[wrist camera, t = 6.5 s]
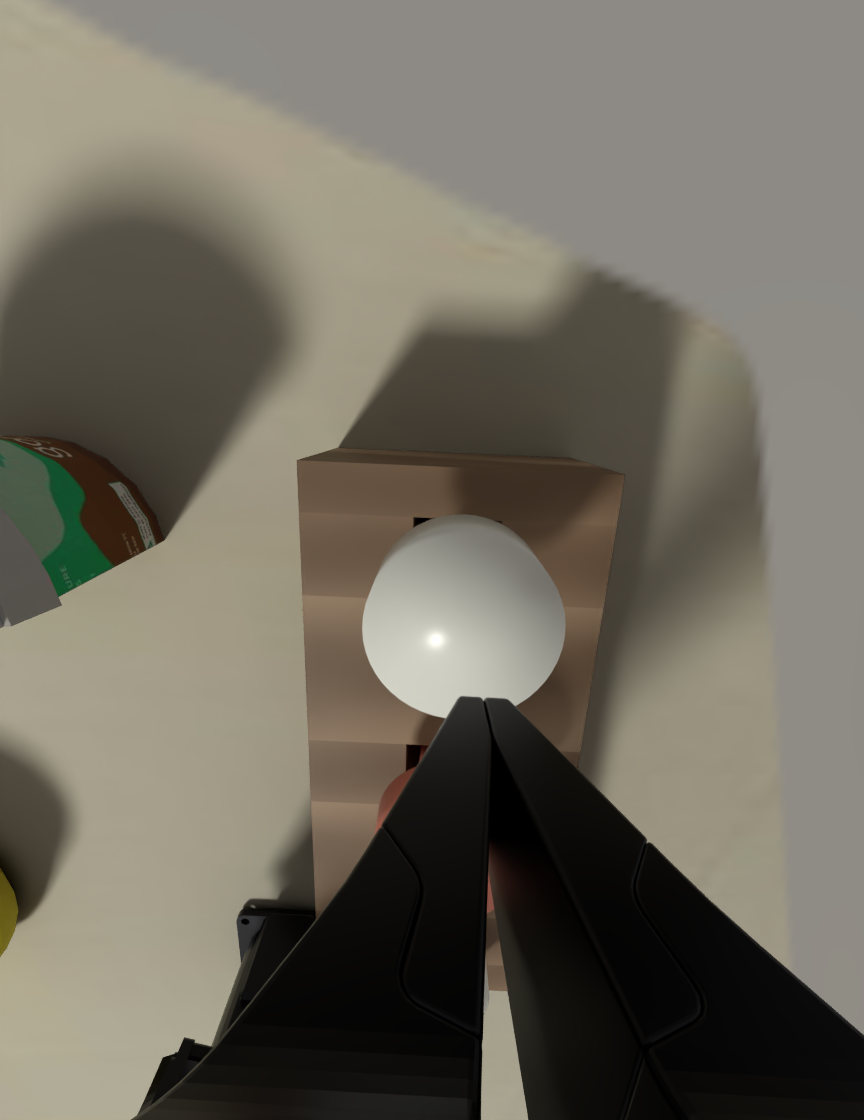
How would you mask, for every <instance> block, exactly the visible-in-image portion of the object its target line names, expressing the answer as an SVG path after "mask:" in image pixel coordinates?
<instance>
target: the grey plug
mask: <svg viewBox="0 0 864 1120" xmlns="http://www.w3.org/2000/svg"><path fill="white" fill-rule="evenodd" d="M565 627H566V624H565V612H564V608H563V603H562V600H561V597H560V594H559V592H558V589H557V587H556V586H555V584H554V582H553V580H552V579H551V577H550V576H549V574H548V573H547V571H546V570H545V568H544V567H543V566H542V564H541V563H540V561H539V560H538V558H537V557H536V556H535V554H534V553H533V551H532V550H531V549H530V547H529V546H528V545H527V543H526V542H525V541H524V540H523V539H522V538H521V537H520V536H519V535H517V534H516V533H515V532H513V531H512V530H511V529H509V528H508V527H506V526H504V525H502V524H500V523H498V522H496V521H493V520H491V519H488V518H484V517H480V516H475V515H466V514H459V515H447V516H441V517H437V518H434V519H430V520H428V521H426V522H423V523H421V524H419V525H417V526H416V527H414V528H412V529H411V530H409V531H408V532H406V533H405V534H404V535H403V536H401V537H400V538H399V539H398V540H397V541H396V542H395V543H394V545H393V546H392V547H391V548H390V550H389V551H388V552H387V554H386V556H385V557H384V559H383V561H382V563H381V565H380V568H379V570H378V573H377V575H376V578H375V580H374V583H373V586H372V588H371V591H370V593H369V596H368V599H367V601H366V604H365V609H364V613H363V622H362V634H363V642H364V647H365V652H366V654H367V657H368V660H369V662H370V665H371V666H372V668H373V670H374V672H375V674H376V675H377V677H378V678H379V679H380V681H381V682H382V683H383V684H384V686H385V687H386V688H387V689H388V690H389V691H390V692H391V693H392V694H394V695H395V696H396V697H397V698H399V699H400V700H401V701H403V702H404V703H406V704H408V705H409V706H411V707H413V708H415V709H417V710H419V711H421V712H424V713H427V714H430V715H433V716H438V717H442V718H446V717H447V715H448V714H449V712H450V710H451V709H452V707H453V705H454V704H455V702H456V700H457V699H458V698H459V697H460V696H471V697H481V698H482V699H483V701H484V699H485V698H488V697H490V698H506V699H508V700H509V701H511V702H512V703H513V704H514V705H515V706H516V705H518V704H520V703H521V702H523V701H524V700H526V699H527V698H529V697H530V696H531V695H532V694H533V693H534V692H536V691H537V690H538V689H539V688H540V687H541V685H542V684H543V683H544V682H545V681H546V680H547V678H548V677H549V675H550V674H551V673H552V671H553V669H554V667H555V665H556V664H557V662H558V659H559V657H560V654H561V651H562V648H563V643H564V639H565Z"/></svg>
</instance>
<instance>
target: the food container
mask: <svg viewBox="0 0 864 1120" xmlns="http://www.w3.org/2000/svg"><path fill="white" fill-rule="evenodd" d="M162 541H164V538H163V535H162V532H161V529H160V526H159V523H158V521H157V518H156V515H155V514H154V512H153V511H152V509H151V508H150V506H149V505H148V503H147V502H146V500H145V499H144V497H143V496H142V494H141V493H140V491H139V490H138V488H137V486H136V485H135V484H134V483H133V482H132V481H131V480H129V479H128V478H127V477H126V476H125V475H124V474H123V473H122V472H121V471H119V470H118V469H117V468H116V467H115V466H114V465H113V464H112V463H110V462H109V461H108V460H107V459H105V458H103V457H101V456H99V455H97V454H95V453H93V452H91V451H89V450H87V449H85V448H83V447H81V446H79V445H77V444H75V443H73V442H68V441H63V440H58V439H53V438H48V437H29V436H2V435H0V628H1V627H4V626H13V625H15V624H18V623H20V622H22V621H25V620H27V619H30V618H32V617H35V616H37V615H39V614H42V613H44V612H47V611H49V610H52V609H54V608H56V607H59V606H61V602H60V600H59V598H58V597H59V596H61V595H63V594H65V593H67V592H69V591H70V590H72V589H74V588H76V587H78V586H80V585H82V584H84V583H85V582H87V581H89V580H91V579H93V578H95V577H97V576H99V575H100V574H102V573H104V572H106V571H108V570H110V569H112V568H114V567H115V566H117V565H119V564H121V563H123V562H125V561H127V560H129V559H130V558H132V557H134V556H136V555H138V554H140V553H142V552H144V551H146V550H147V549H149V548H151V547H153V546H155V545H157V544H159V543H161V542H162Z"/></svg>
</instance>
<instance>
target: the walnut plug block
mask: <svg viewBox="0 0 864 1120" xmlns="http://www.w3.org/2000/svg"><path fill="white" fill-rule="evenodd" d="M297 477H298V501H299V525H300V549H301V573H302V597H303V621H304V645H305V669H306V693H307V717H308V741H309V765H310V789H311V813H312V837H313V861H314V885H315V909H316V919H317V918H318V917H319V915H320V914H321V913H322V911H323V910H324V909H325V907H326V906H327V905H328V903H329V902H330V901H331V899H332V898H333V897H334V895H335V894H336V893H337V891H338V890H339V889H340V887H341V886H342V885H343V883H344V882H345V881H346V879H347V877H348V876H349V874H350V873H351V871H352V870H353V868H354V867H355V865H356V864H357V862H358V861H359V859H360V858H361V856H362V855H363V853H364V852H365V850H366V849H367V847H368V845H369V844H370V842H371V840H372V839H373V837H374V835H375V828H376V822H377V815H378V809H379V804H380V800H381V798H382V795H383V793H384V792H385V790H386V788H387V787H388V786H389V785H390V784H391V782H392V781H393V780H395V779H396V778H397V777H398V776H399V775H401V774H402V773H404V772H406V771H408V770H410V769H412V768H414V767H417V765H418V763H419V760H420V745H430V743H431V742H432V740H433V738H434V737H435V735H436V734H437V732H438V730H439V729H440V727H441V725H442V724H443V722H444V720H445V719H446V718H442V717H438V716H433V715H430V714H427V713H424V712H421V711H419V710H417V709H415V708H413V707H411V706H409V705H408V704H406V703H404V702H403V701H401V700H400V699H399V698H397V697H396V696H395V695H394V694H392V693H391V692H390V691H389V690H388V689H387V688H386V687H385V686H384V684H383V683H382V682H381V681H380V679H379V678H378V677H377V675H376V674H375V672H374V670H373V668H372V666H371V665H370V662H369V660H368V657H367V654H366V652H365V647H364V642H363V634H362V622H363V613H364V609H365V604H366V601H367V599H368V596H369V593H370V591H371V588H372V586H373V583H374V580H375V578H376V575H377V573H378V570H379V568H380V565H381V563H382V561H383V559H384V557H385V556H386V554H387V552H388V551H389V550H390V548H391V547H392V546H393V545H394V543H395V542H396V541H397V540H398V539H399V538H400V537H401V536H403V535H404V534H405V533H406V532H408V531H409V530H411V529H412V528H414V527H416V526H417V525H419V517H420V518H437V517H441V516H447V515H459V514H466V515H475V516H480V517H484V518H488V519H491V520H493V521H496V522H498V523H500V524H502V525H504V526H506V527H508V528H509V529H511V530H512V531H513V532H515V533H516V534H517V535H519V536H520V537H521V538H522V539H523V540H524V541H525V542H526V543H527V545H528V546H529V547H530V549H531V550H532V551H533V553H534V554H535V556H536V557H537V558H538V560H539V561H540V563H541V564H542V566H543V567H544V568H545V570H546V571H547V573H548V574H549V576H550V577H551V579H552V580H553V582H554V584H555V586H556V587H557V589H558V592H559V594H560V597H561V600H562V603H563V608H564V612H565V624H566V627H565V639H564V643H563V648H562V651H561V654H560V657H559V659H558V662H557V664H556V665H555V667H554V669H553V671H552V673H551V674H550V675H549V677H548V678H547V680H546V681H545V682H544V683H543V684H542V685H541V687H540V688H539V689H538V690H537V691H536V692H534V693H533V694H532V695H531V696H530V697H529V698H527V699H526V700H524V701H523V702H521V703H520V704H518V705H516V707H517V708H518V709H519V710H520V711H521V712H522V713H523V714H524V715H525V716H526V717H527V719H528V720H529V721H530V722H531V723H532V724H533V725H534V726H535V727H536V728H537V729H538V730H539V731H540V732H541V733H542V734H543V735H544V736H545V737H546V738H547V739H548V740H549V741H550V742H551V743H552V744H553V745H554V746H555V747H556V748H557V749H558V750H559V751H560V752H561V753H562V754H563V755H564V756H565V757H566V758H567V759H568V760H569V761H570V762H571V763H572V764H573V765H574V766H575V767H576V768H577V769H578V763H579V757H580V751H581V745H582V739H583V733H584V726H585V720H586V714H587V708H588V702H589V695H590V689H591V683H592V677H593V671H594V664H595V658H596V652H597V646H598V640H599V633H600V627H601V621H602V615H603V609H604V602H605V596H606V590H607V584H608V578H609V571H610V565H611V559H612V553H613V547H614V540H615V534H616V528H617V522H618V516H619V509H620V503H621V497H622V491H623V485H624V479H625V475H624V474H621V473H618V472H614V471H611V470H608V469H605V468H601V467H598V466H595V465H592V464H589V463H585V462H582V461H579V460H576V459H572V458H555V457H533V456H510V455H487V454H465V453H442V452H419V451H397V450H374V449H351V448H336V449H332V450H329V451H326V452H322V453H319V454H316V455H313V456H309V457H306V458H303V459H300V460H297ZM486 964H487V976H488V987H489V990H494V991H508V990H507V984H506V978H505V972H504V965H503V959H502V953H501V947H500V941H499V935H498V929H497V922H496V916H495V910H492V911H491V912H489V913H487V928H486Z"/></svg>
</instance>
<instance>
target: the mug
mask: <svg viewBox="0 0 864 1120" xmlns="http://www.w3.org/2000/svg"><path fill="white" fill-rule="evenodd" d="M17 915H18V906H17V902H16V897H15V893H14V891H13V889H12V887H11V886H10V884H9V882H8V880H7V879H6V877H5V875H4V873H3V872H2V870H1V868H0V956H1V955H2V954H3V952H4V951H5V950H6V948H7V946H8V944H9V942H10V940H11V938H12V936H13V933H14V931H15V927H16V921H17Z"/></svg>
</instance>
